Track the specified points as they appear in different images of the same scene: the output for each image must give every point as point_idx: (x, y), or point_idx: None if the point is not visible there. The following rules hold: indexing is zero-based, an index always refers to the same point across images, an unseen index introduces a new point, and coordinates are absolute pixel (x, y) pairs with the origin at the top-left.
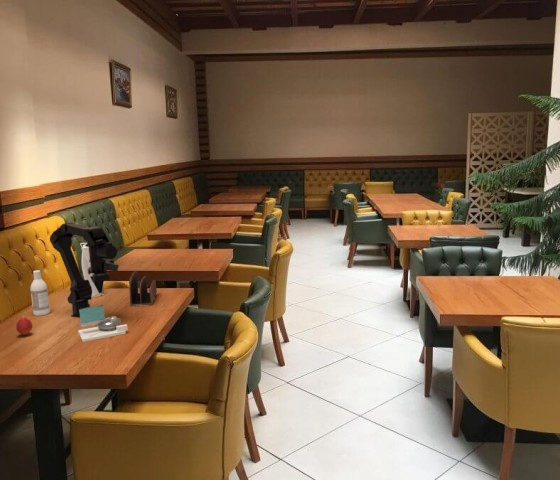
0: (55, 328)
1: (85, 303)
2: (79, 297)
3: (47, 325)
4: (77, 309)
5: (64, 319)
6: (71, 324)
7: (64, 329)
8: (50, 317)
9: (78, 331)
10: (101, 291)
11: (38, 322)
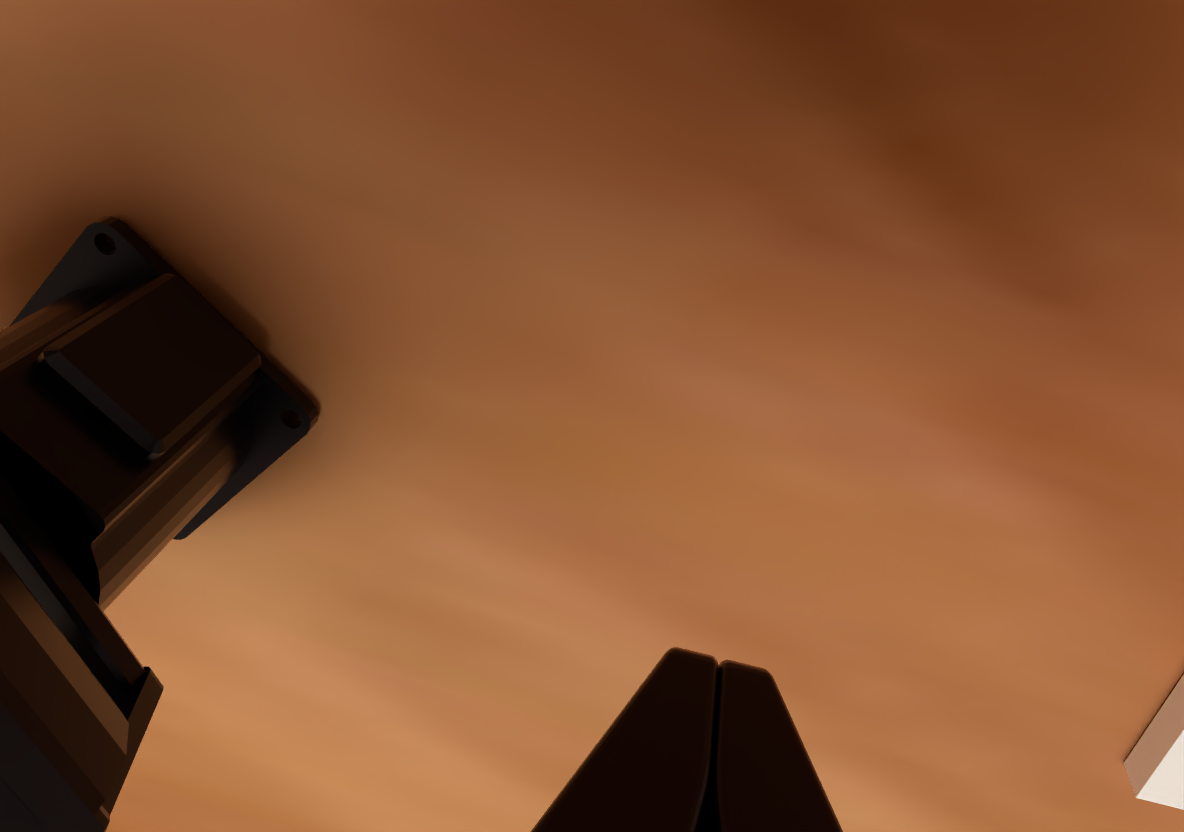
0: None
1: (101, 471)
2: (117, 760)
3: (420, 821)
4: (170, 539)
5: (278, 627)
6: (601, 663)
7: None
8: None
9: (1158, 793)
10: (783, 733)
11: (229, 822)
